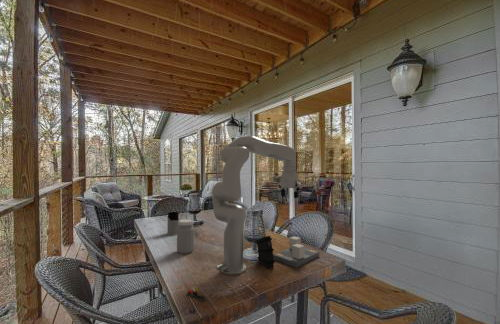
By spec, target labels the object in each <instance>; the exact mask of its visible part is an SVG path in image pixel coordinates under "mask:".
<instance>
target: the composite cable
mask: <svg viewBox="0 0 500 324" xmlns="http://www.w3.org/2000/svg"><path fill="white" fill-rule="evenodd" d="M187 290H188V292H187V293H186V296H187V297H190V298H194V299H196V300H197V301H199V303H204V302H205V301H206V297H205V296H202V295H199V288H198V287H197V286H191V289H190V288H188V289H187Z"/></svg>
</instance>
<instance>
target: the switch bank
mask: <svg viewBox="0 0 500 324" xmlns="http://www.w3.org/2000/svg"><path fill="white" fill-rule="evenodd" d="M319 257H320V251H317V250H314V249H310V248H308V247H304V258H301V259H297V258H294V257H292V249H290V247H289V248H287V249H284V250H282V251H279V252H277V253H273V260H274V261H277V262H280V263H283V264H285V265H288V266H291V267H294V268H299V267H301V266H303V265H304V264H306V263H307V264H308V263H309V262H311V261H313V260H314V259H316V258H319Z"/></svg>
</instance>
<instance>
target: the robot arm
mask: <svg viewBox="0 0 500 324" xmlns="http://www.w3.org/2000/svg"><path fill="white" fill-rule="evenodd" d="M250 153H251V154H255V155H259V156H261V157H265V158H272V159H273V160H274V161H277V162H283V166H282V167H281V169H282V172H281V177H280V181H278V182H277V185H278V187H279V189H280V197H282V198H283V197H285V196H286V189H293V190H294V191H293V198H294V199H298V198H299V191H300V190H301V188H302V186H303V184H302V183H301V182H299V181H298V180H299V179H298V172H297V151H296V149H294V148H293V147H290V146H289V145H285V144H282V143H276V142H271V141H268V140H265V139H262V138H259V137H257V136H254V135H247V136H240V137H238V138H236V139H234V140H233V141H232V142H230V143H229V144H228V145H226V146H224V147H223V148H222V149H221V151H220V153H219V156H220V160H221V161H222V162H223V163H224V165H223V168H222V172H221V174H222V181H218V182H216V183H215V184H214V186H213V188H212V191H211V192H212V193H211V197H212V208H213V215H214V217H215V219H216V220H218V221H220V222H223V223H226V226H225V229H224V231H223V260H222V261H221V263H220V264H219V265H218V264H217V265H215V270H216V271H220V272H222V273H223V274H226V275H229V276H235V275H241V274H244V273H246V271H247V265H246V264H245V263H244V231H245V229H244V228H245V222H246V217H247V216H246V215H247V213H246V210H245V208H244V207H243V206H242V205H240V204H236V203H237V202H238V201H240V199H241V197H242V186H241V171H242V168H243V166H244V165H245V163H246V162H247V161H248V160H249V157H250ZM235 202H236V203H235Z"/></svg>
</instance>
